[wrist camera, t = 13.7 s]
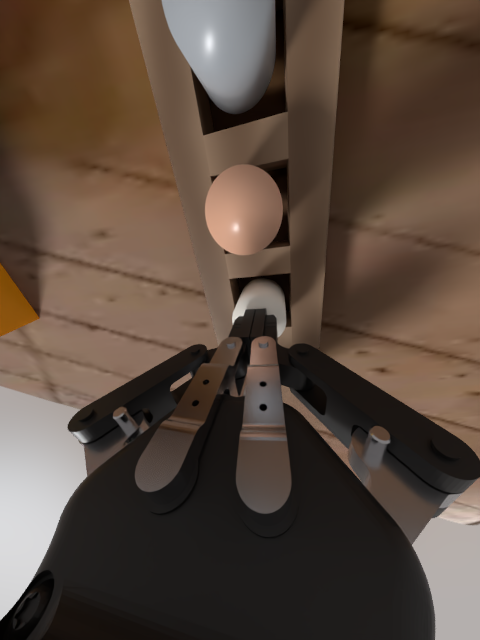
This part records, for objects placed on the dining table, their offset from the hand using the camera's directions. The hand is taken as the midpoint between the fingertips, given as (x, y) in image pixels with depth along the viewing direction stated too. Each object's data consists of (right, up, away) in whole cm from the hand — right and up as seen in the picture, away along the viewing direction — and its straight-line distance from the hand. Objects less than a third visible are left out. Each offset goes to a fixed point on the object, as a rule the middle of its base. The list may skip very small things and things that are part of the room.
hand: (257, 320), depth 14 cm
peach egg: (0, +7, -1) cm, 7 cm away
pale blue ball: (-1, +14, -4) cm, 14 cm away
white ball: (+1, +2, +3) cm, 4 cm away
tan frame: (0, +9, +2) cm, 9 cm away
